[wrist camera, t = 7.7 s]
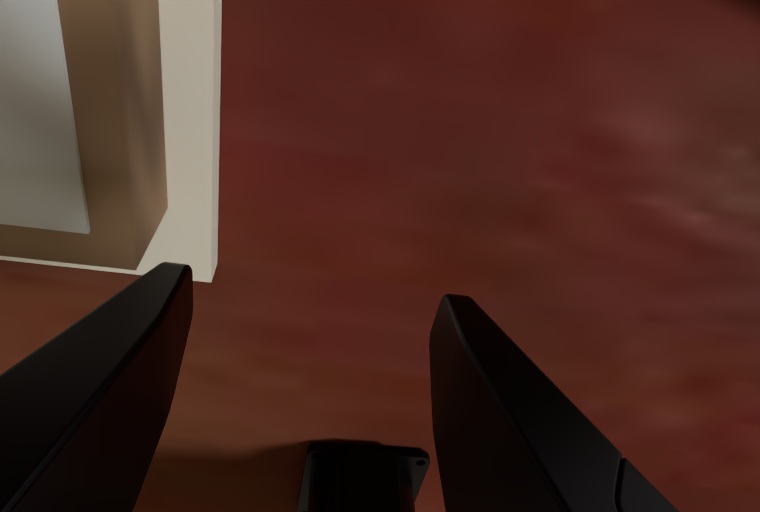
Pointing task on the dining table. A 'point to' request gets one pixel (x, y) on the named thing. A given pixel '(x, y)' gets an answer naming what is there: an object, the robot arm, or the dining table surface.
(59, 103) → the frame
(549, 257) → the dining table surface
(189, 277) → the robot arm
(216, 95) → the wall board
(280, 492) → the dining table surface
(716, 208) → the dining table surface
